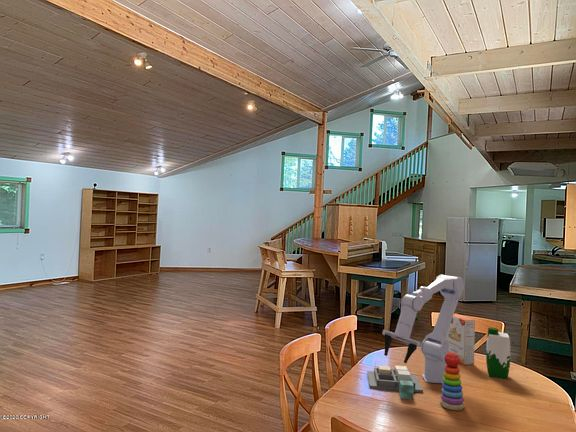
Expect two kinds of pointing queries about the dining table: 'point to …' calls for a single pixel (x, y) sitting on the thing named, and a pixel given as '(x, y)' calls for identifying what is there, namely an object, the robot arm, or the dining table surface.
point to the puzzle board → (391, 378)
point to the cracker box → (462, 338)
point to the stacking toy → (452, 384)
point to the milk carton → (498, 354)
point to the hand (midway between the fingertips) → (395, 359)
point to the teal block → (406, 389)
